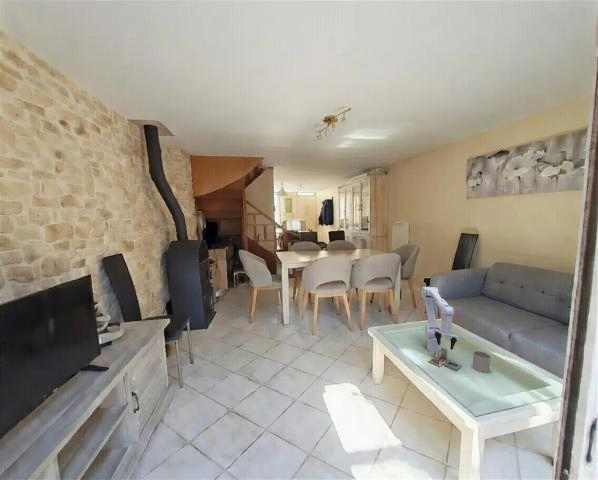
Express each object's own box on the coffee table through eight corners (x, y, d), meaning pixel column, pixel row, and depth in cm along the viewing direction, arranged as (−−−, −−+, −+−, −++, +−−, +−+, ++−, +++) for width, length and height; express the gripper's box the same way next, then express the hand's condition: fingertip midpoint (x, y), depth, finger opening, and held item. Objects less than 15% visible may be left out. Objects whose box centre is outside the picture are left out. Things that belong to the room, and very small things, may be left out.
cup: (485, 368, 160) (487, 352, 159) (491, 375, 152) (493, 359, 151) (470, 366, 162) (471, 350, 161) (475, 373, 154) (476, 356, 153)
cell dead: (442, 356, 171) (442, 346, 171) (447, 358, 168) (448, 349, 168) (439, 358, 169) (440, 348, 169) (445, 360, 166) (446, 350, 166)
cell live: (434, 361, 165) (435, 351, 164) (440, 363, 162) (440, 353, 162) (432, 363, 163) (432, 353, 162) (437, 365, 160) (438, 355, 160)
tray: (435, 359, 169) (435, 356, 169) (446, 363, 164) (446, 361, 163) (427, 363, 163) (428, 361, 163) (439, 368, 157) (439, 366, 157)
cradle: (450, 362, 165) (451, 358, 165) (463, 367, 159) (463, 363, 159) (443, 367, 159) (444, 363, 159) (456, 373, 153) (456, 368, 153)
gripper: (431, 323, 167) (430, 344, 167) (456, 331, 155) (455, 353, 156) (436, 321, 171) (435, 341, 172) (461, 328, 159) (459, 350, 160)
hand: (445, 346), depth 164 cm, fingers open, 7 cm apart
